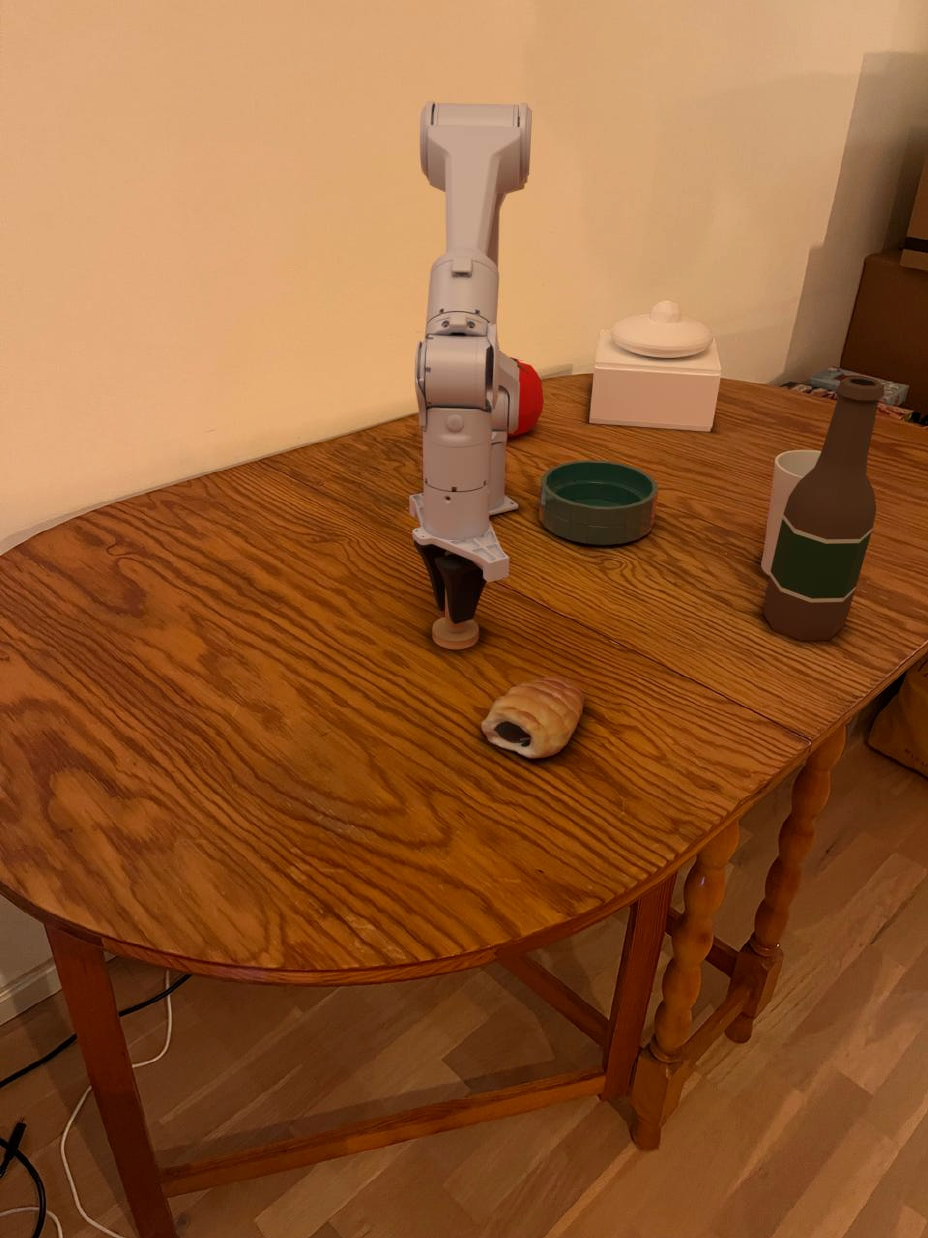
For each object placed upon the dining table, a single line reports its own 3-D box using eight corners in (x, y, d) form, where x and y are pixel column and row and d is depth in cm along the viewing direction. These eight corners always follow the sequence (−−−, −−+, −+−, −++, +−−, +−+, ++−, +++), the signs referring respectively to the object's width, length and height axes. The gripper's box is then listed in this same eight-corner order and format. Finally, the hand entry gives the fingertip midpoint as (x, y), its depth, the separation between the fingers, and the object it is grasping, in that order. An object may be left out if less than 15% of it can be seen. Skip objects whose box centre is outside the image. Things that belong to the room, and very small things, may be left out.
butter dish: (589, 423, 134) (599, 312, 125) (594, 383, 149) (604, 282, 140) (711, 431, 132) (730, 319, 123) (704, 391, 146) (721, 288, 138)
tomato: (544, 449, 125) (549, 373, 119) (454, 448, 125) (454, 372, 119) (538, 415, 136) (542, 344, 131) (455, 414, 136) (456, 342, 131)
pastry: (534, 683, 80) (537, 647, 78) (603, 712, 77) (608, 675, 75) (474, 740, 74) (476, 702, 72) (546, 774, 71) (550, 736, 69)
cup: (835, 592, 94) (864, 484, 88) (755, 583, 95) (778, 477, 89) (825, 555, 101) (852, 453, 94) (751, 547, 102) (772, 446, 95)
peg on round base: (424, 631, 87) (423, 548, 82) (464, 619, 89) (465, 537, 84) (446, 654, 84) (446, 569, 79) (487, 641, 86) (490, 557, 81)
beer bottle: (843, 609, 91) (910, 372, 78) (844, 650, 85) (916, 401, 72) (763, 595, 93) (815, 362, 80) (758, 634, 87) (813, 389, 74)
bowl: (517, 512, 109) (519, 473, 106) (606, 490, 114) (610, 452, 112) (582, 559, 99) (586, 518, 97) (676, 533, 105) (682, 493, 102)
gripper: (377, 457, 81) (383, 588, 89) (457, 522, 71) (456, 665, 78) (447, 443, 84) (446, 571, 92) (533, 503, 74) (525, 642, 81)
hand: (455, 613), depth 85 cm, fingers closed on peg on round base, 2 cm apart
